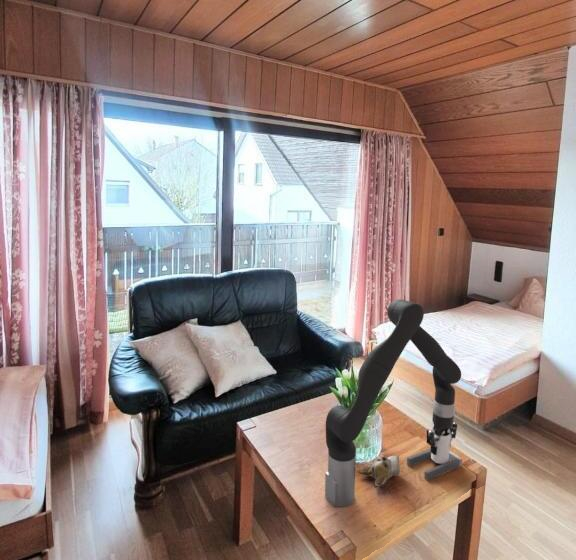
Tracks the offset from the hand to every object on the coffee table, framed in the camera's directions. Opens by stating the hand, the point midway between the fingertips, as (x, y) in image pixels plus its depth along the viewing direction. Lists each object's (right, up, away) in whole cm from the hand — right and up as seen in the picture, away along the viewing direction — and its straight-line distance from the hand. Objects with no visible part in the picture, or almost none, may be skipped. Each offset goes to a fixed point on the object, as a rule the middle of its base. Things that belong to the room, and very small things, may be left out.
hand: (440, 450), depth 167 cm
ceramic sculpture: (-24, -7, -7) cm, 26 cm away
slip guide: (-3, -5, 0) cm, 6 cm away
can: (0, -4, +1) cm, 4 cm away
